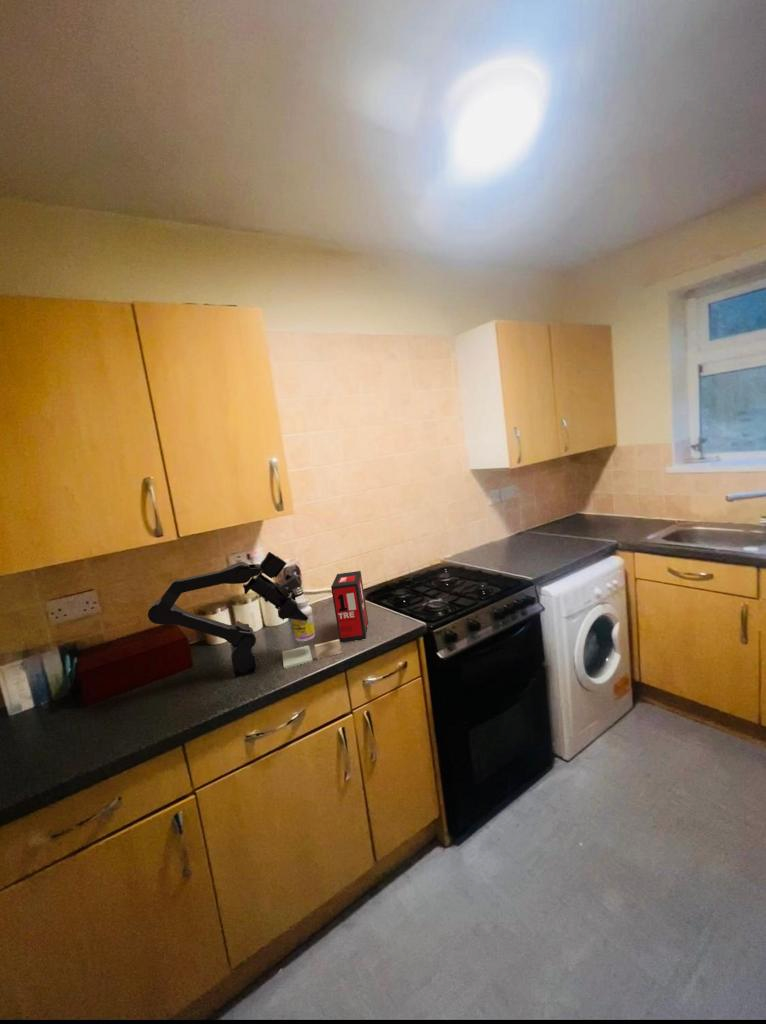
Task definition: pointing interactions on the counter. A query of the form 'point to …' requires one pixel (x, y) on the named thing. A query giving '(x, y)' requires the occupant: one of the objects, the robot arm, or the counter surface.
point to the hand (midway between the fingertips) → (306, 616)
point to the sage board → (296, 656)
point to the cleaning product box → (350, 606)
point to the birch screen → (328, 649)
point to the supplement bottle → (304, 622)
